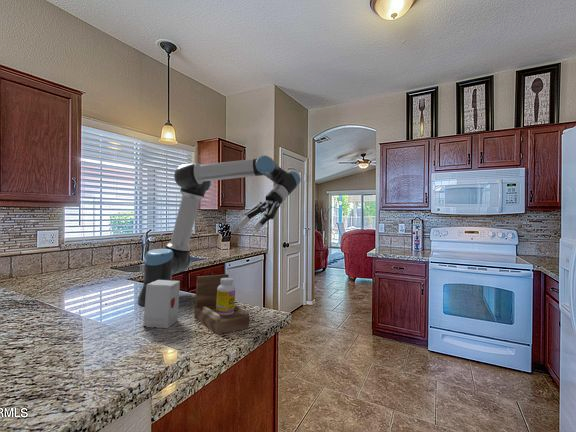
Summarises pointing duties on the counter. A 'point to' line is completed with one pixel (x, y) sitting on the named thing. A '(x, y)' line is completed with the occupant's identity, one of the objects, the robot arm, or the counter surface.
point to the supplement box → (161, 303)
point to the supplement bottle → (225, 297)
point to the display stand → (207, 307)
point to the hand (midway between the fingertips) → (246, 228)
